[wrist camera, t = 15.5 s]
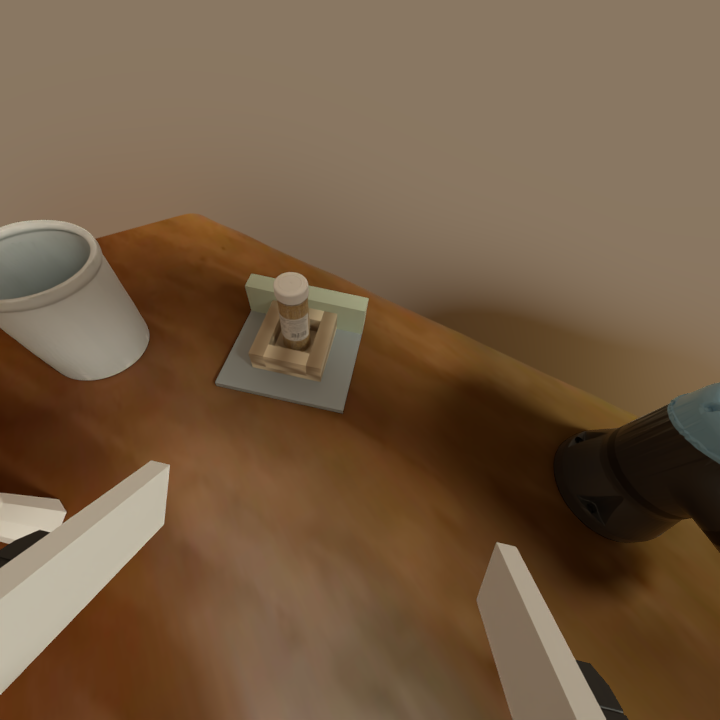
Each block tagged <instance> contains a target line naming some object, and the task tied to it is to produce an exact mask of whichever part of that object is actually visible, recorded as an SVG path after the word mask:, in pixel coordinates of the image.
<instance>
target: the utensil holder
mask: <svg viewBox="0 0 720 720" xmlns="http://www.w3.org/2000/svg"><path fill="white" fill-rule="evenodd" d="M0 328H1V329H2V330H3V331H5V332H6V333H7V334H9V335H10V336H11V337H13V338H14V339H15V340H16V341H18V342H19V343H20V344H22V345H23V346H24V347H26V348H27V349H28V350H29V351H31V352H32V353H33V354H35V355H36V356H37V357H39V358H40V359H42V360H43V361H44V362H46V363H47V364H49V365H50V366H51V367H53V368H54V369H56V370H57V371H58V372H60V373H61V374H63V375H65V376H67V377H69V378H72V379H77V380H98V379H103V378H107V377H110V376H113V375H115V374H117V373H120V372H122V371H123V370H125V369H127V368H128V367H130V366H131V365H132V364H134V363H135V362H136V361H137V360H138V359H139V358H140V357H141V356H142V354H143V353H144V351H145V350H146V348H147V345H148V342H149V330H148V327H147V325H146V323H145V321H144V319H143V318H142V316H141V315H140V313H139V311H138V310H137V308H136V306H135V304H134V303H133V301H132V300H131V298H130V296H129V295H128V293H127V292H126V290H125V289H124V287H123V286H122V284H121V283H120V281H119V279H118V278H117V276H116V274H115V273H114V271H113V270H112V268H111V267H110V265H109V263H108V262H107V260H106V259H105V257H104V256H103V254H102V252H101V248H100V246H99V244H98V242H97V241H96V239H95V238H94V237H93V236H92V235H91V234H90V233H89V232H88V231H86V230H85V229H83V228H81V227H79V226H77V225H74V224H71V223H68V222H63V221H54V220H31V221H23V222H18V223H14V224H10V225H6V226H3V227H0Z"/></svg>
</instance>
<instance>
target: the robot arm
mask: <svg viewBox="0 0 720 720" xmlns="http://www.w3.org/2000/svg"><path fill="white" fill-rule="evenodd" d="M169 469H170V465H168V464H164V463H160V462H156V461H150V462H149V463H147V464H146V465H144V466H143V467H142V468H140V469H139V470H137V471H136V472H135V473H133V474H132V475H130V476H129V477H128V478H126V479H125V480H123V481H122V482H121V483H119V484H118V485H116V486H115V487H114V488H112V489H111V490H109V491H108V492H107V493H105V494H104V495H102V496H101V497H100V498H98V499H97V500H95V501H94V502H92V503H91V504H90V505H88V506H87V507H85V508H84V509H83V510H81V511H80V512H78V513H77V514H76V515H74V516H73V517H71V518H70V519H69V520H67V521H66V522H64V523H63V524H62V525H60V526H59V527H57V528H56V529H55V530H53V531H52V532H47V531H43V530H38V531H35V532H33V533H31V534H28V535H26V536H24V537H22V538H19V539H17V540H15V541H13V542H12V543H10V544H9V545H7V546H6V547H4V548H3V549H1V550H0V695H1V694H2V692H3V691H4V690H5V689H6V688H7V687H8V686H9V685H10V684H11V683H12V682H13V681H14V680H15V679H16V678H17V677H18V676H19V675H20V674H21V673H22V672H23V671H24V670H25V668H26V667H27V666H28V665H29V664H30V663H31V662H32V661H33V660H34V659H35V658H36V657H37V656H38V655H39V654H40V653H41V652H42V651H43V650H44V649H45V648H46V647H47V646H48V645H49V643H50V642H51V641H52V640H53V639H54V638H55V637H56V636H57V635H58V634H59V633H60V632H61V631H62V630H63V629H64V628H65V627H66V626H67V625H68V624H69V623H70V622H71V621H72V620H73V618H74V617H75V616H76V615H77V614H78V613H79V612H80V611H81V610H82V609H83V608H84V607H85V606H86V605H87V604H88V603H89V602H90V601H91V600H92V599H93V598H94V597H95V596H96V595H97V593H98V592H99V591H100V590H101V589H102V588H103V587H104V586H105V585H106V584H107V583H108V582H109V581H110V580H111V579H112V578H113V577H114V576H115V575H116V574H117V573H118V572H119V571H120V570H121V568H122V567H123V566H124V565H125V564H126V563H127V562H128V561H129V560H130V559H131V558H132V557H133V556H134V555H135V554H136V553H137V552H138V551H139V550H140V549H141V548H142V547H143V546H144V545H145V543H146V542H147V541H148V540H149V539H150V538H151V537H152V536H153V535H154V534H155V533H156V532H157V531H158V530H159V529H160V528H161V527H162V526H163V525H164V518H165V508H166V499H167V489H168V479H169ZM554 473H555V478H556V482H557V485H558V488H559V490H560V493H561V495H562V497H563V498H564V500H565V502H566V503H567V505H568V506H569V508H570V509H571V510H572V512H573V513H574V514H575V515H576V516H577V517H578V518H579V519H580V520H581V521H582V522H583V523H584V524H585V525H587V526H588V527H589V528H590V529H592V530H593V531H595V532H596V533H598V534H600V535H602V536H604V537H606V538H608V539H611V540H614V541H618V542H625V543H631V542H641V541H648V540H651V539H654V538H656V537H658V536H660V535H661V534H662V533H664V532H665V531H667V530H668V529H670V528H671V527H672V526H674V525H675V524H677V523H678V522H679V521H681V520H682V519H688V518H693V520H694V521H695V522H696V523H697V525H698V526H699V527H700V528H701V530H702V531H703V532H704V533H705V534H706V536H707V537H708V538H709V539H710V541H711V542H712V543H713V545H714V546H715V547H716V549H717V550H718V551H719V552H720V383H715V384H711V385H709V386H706V387H704V388H701V389H699V390H697V391H694V392H692V393H687V394H683V395H680V396H678V397H676V398H675V399H673V400H671V403H670V404H668V405H666V406H663V407H661V408H659V409H657V410H655V411H653V412H651V413H649V414H647V415H644V416H642V417H640V418H638V419H636V420H634V421H632V422H630V423H628V424H626V425H624V426H622V427H620V428H614V429H600V430H588V431H584V432H580V433H578V434H576V435H574V436H572V437H570V438H569V439H567V440H565V441H564V442H563V443H562V444H561V445H560V447H559V448H558V450H557V452H556V455H555V460H554ZM477 603H478V607H479V610H480V613H481V617H482V620H483V623H484V627H485V630H486V633H487V637H488V640H489V643H490V646H491V650H492V653H493V656H494V660H495V663H496V666H497V670H498V673H499V676H500V680H501V683H502V686H503V690H504V693H505V696H506V700H507V703H508V706H509V709H510V713H511V716H512V719H513V720H628V718H627V716H626V715H624V714H623V710H622V708H621V706H620V704H619V703H618V701H617V699H616V697H615V696H614V694H613V692H612V690H611V689H610V687H609V685H608V684H607V683H606V682H605V681H604V679H603V678H602V677H601V676H600V675H599V674H598V672H597V671H596V670H595V669H594V668H593V667H592V665H591V664H590V663H586V662H582V661H578V660H575V659H574V657H573V655H572V653H571V651H570V649H569V647H568V645H567V643H566V641H565V639H564V637H563V636H562V634H561V632H560V630H559V628H558V626H557V624H556V622H555V620H554V618H553V616H552V615H551V613H550V611H549V609H548V607H547V605H546V603H545V601H544V599H543V597H542V595H541V593H540V592H539V590H538V588H537V586H536V584H535V582H534V580H533V578H532V576H531V574H530V572H529V571H528V569H527V567H526V565H525V563H524V561H523V559H522V557H521V555H520V553H519V551H518V549H517V548H516V547H515V546H511V545H506V544H502V543H498V542H496V545H495V548H494V551H493V554H492V557H491V559H490V562H489V565H488V568H487V571H486V574H485V577H484V580H483V583H482V585H481V588H480V591H479V594H478V597H477Z"/></svg>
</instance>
